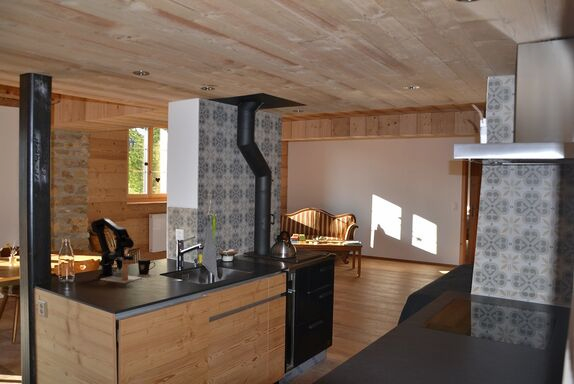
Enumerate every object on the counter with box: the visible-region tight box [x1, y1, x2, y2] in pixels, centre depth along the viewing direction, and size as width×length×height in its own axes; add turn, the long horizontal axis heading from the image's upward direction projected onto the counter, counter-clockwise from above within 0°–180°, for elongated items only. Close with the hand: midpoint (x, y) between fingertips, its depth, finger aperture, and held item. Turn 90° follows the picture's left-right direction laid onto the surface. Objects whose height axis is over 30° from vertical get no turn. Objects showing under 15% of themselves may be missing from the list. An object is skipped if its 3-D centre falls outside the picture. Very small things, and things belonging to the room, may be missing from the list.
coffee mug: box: [137, 258, 156, 276], centre depth 329 cm, size 12×9×10 cm
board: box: [100, 271, 143, 284], centre depth 310 cm, size 20×17×3 cm
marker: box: [121, 260, 130, 281], centre depth 303 cm, size 4×4×13 cm
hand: (119, 269), depth 316 cm, fingers closed, pressing on done button
